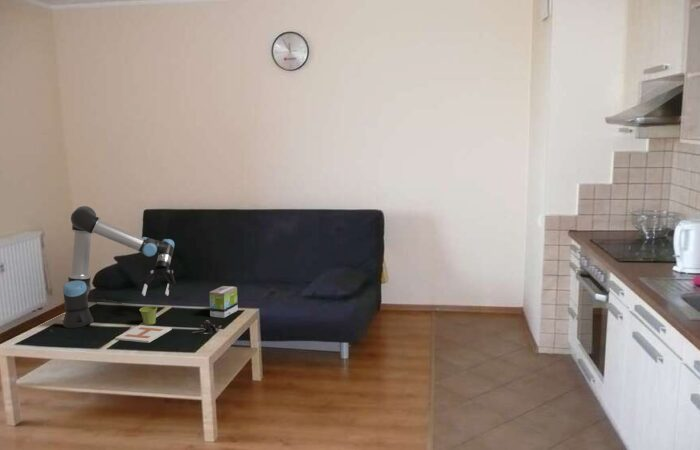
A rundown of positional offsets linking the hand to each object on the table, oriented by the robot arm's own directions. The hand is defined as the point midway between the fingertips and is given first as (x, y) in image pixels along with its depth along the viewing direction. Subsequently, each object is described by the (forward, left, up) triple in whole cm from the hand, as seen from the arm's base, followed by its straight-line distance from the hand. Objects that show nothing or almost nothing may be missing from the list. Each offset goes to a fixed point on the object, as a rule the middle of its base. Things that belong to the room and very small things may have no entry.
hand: (154, 295), depth 323 cm
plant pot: (+2, -9, -14) cm, 17 cm away
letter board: (+10, -25, -14) cm, 30 cm away
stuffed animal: (+40, -13, -14) cm, 44 cm away
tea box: (+35, +16, -14) cm, 41 cm away
